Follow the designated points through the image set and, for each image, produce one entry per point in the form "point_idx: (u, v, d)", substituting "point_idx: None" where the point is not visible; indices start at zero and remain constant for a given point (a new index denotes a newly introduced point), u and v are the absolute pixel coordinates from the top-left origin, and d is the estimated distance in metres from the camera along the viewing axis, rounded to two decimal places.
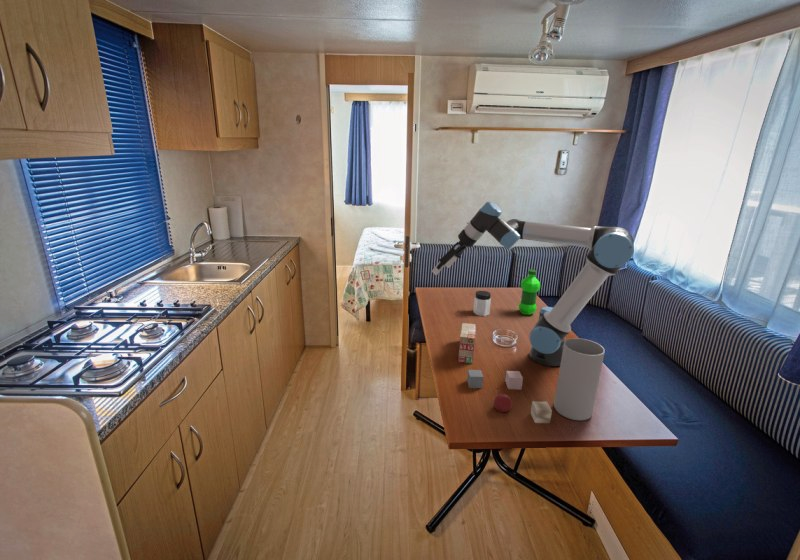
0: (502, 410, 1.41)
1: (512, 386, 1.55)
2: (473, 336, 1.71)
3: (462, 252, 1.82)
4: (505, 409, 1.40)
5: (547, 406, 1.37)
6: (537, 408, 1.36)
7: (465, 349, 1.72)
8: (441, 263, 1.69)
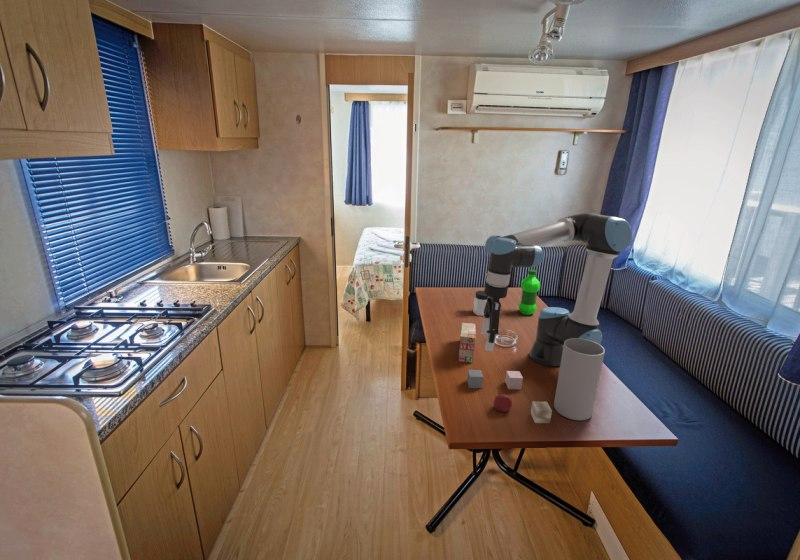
0: (502, 410, 1.41)
1: (512, 386, 1.55)
2: (473, 336, 1.72)
3: None
4: (505, 409, 1.40)
5: (547, 406, 1.37)
6: (537, 408, 1.36)
7: (465, 348, 1.72)
8: (492, 334, 1.33)
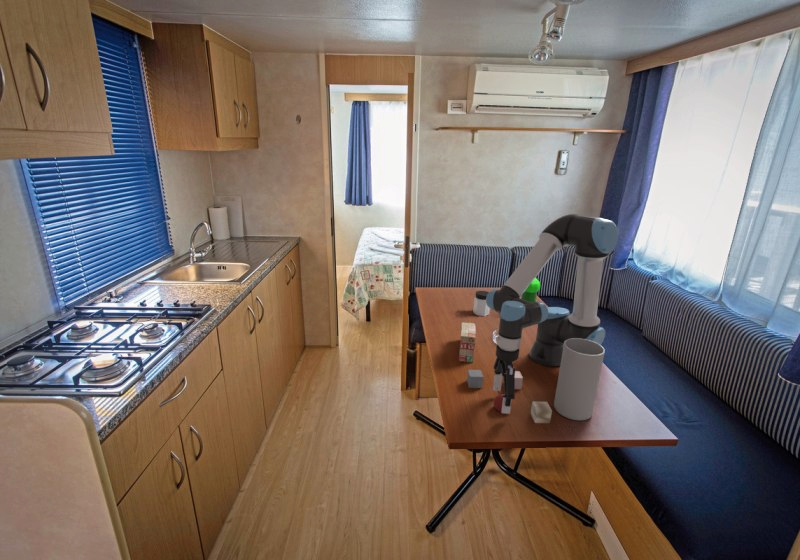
0: None
1: None
2: (474, 335, 1.72)
3: None
4: None
5: (547, 406, 1.37)
6: (537, 408, 1.36)
7: (465, 348, 1.73)
8: (509, 398, 1.34)
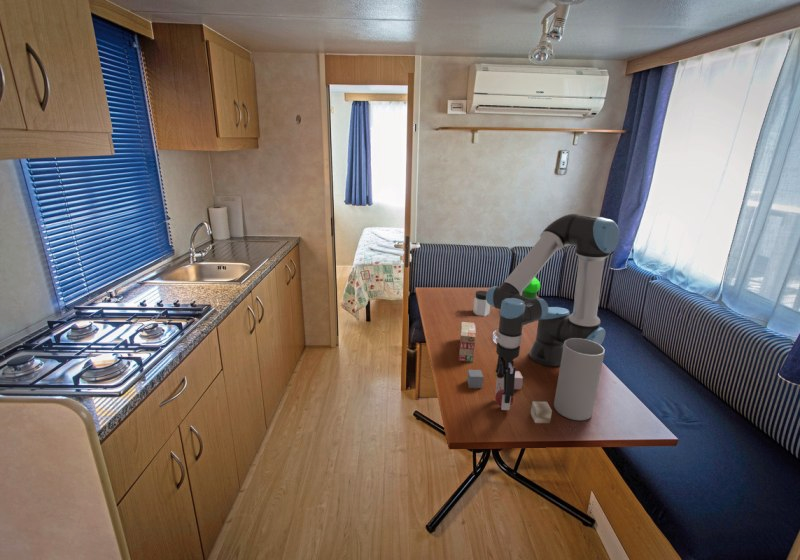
0: None
1: None
2: (474, 335, 1.73)
3: None
4: None
5: (547, 406, 1.37)
6: (537, 408, 1.36)
7: (465, 347, 1.73)
8: (508, 395, 1.36)
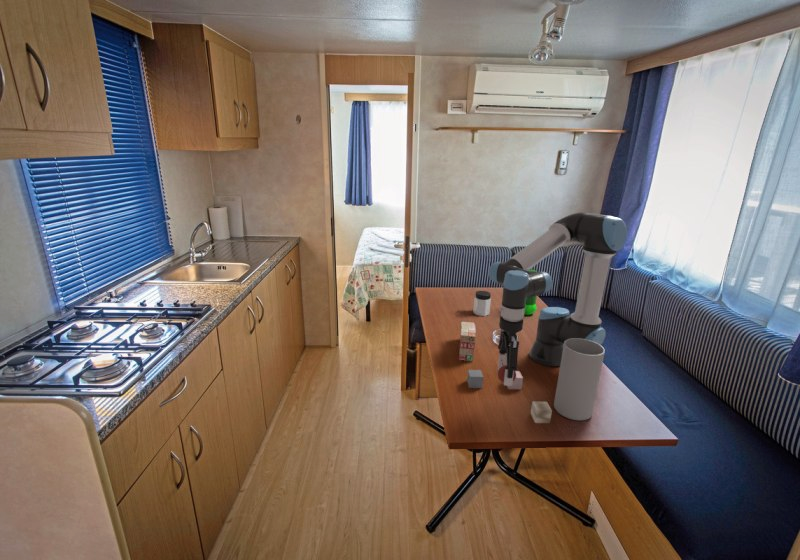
0: None
1: (512, 386, 1.55)
2: (474, 334, 1.73)
3: None
4: None
5: (547, 406, 1.37)
6: (537, 408, 1.36)
7: (465, 347, 1.74)
8: (511, 370, 1.34)
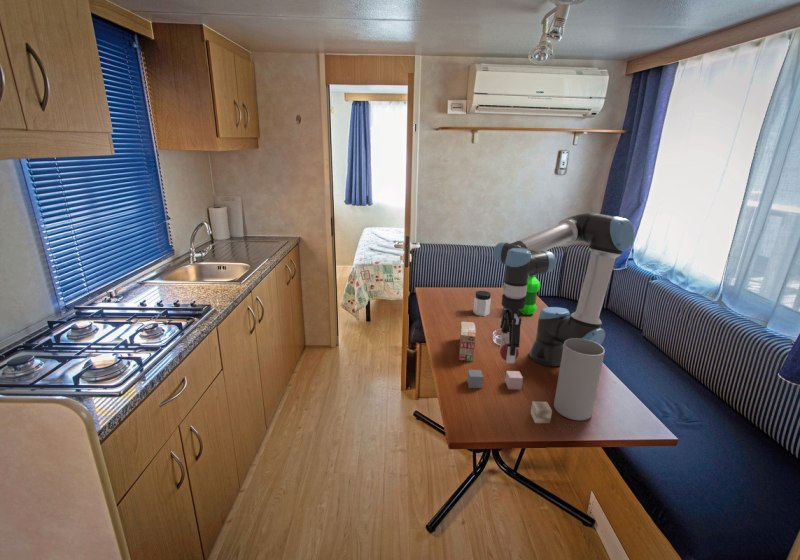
0: None
1: (512, 386, 1.55)
2: (474, 334, 1.73)
3: None
4: None
5: (547, 406, 1.37)
6: (537, 408, 1.36)
7: (465, 347, 1.74)
8: (513, 347, 1.35)
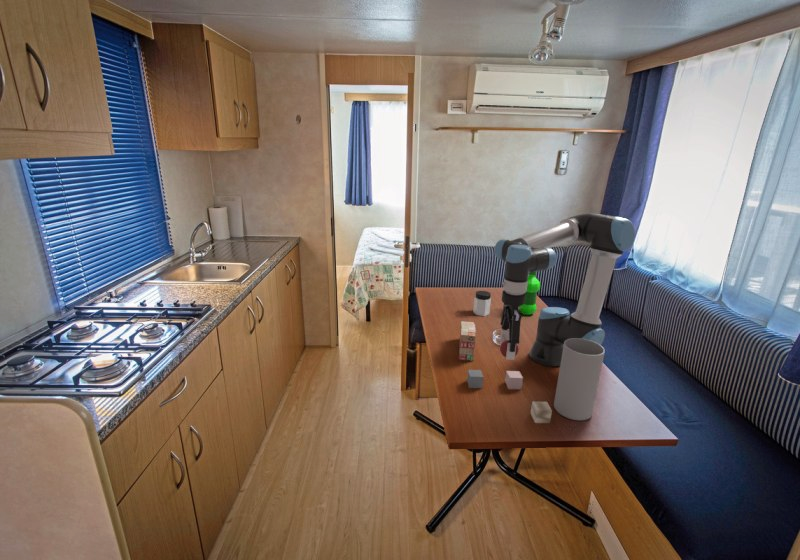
0: None
1: (512, 386, 1.55)
2: (474, 334, 1.73)
3: None
4: None
5: (547, 406, 1.37)
6: (537, 408, 1.36)
7: (465, 346, 1.74)
8: (513, 343, 1.35)
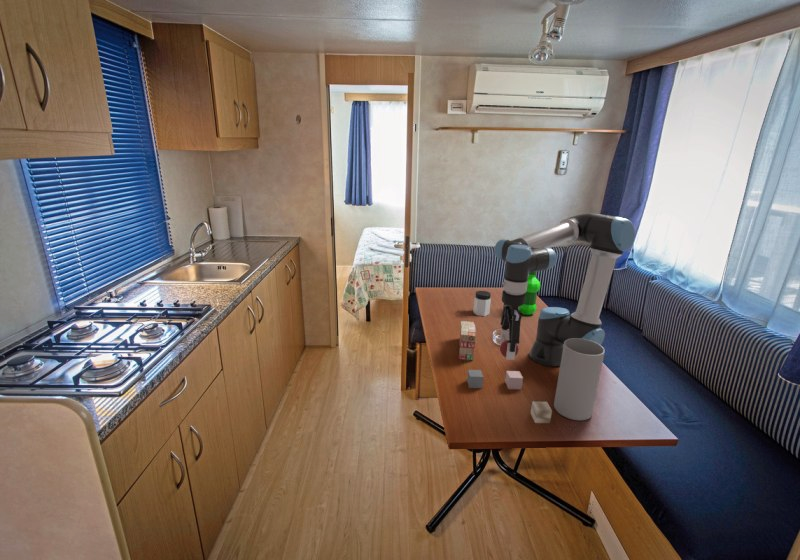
0: None
1: (512, 386, 1.55)
2: (474, 334, 1.74)
3: None
4: None
5: (547, 406, 1.37)
6: (537, 408, 1.36)
7: (465, 346, 1.74)
8: (513, 343, 1.35)
